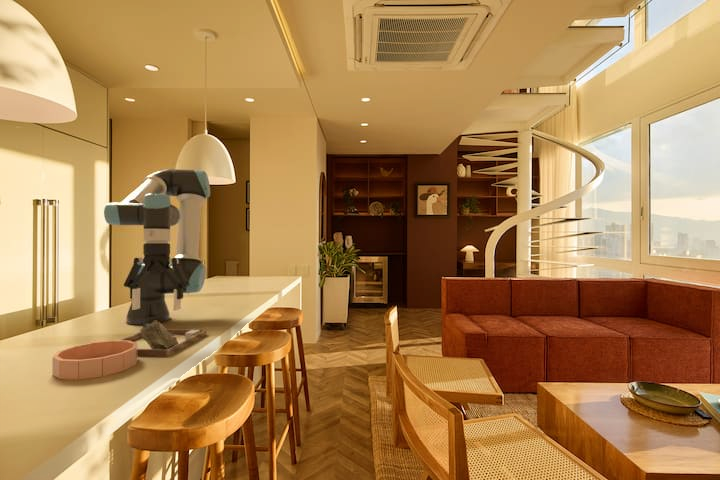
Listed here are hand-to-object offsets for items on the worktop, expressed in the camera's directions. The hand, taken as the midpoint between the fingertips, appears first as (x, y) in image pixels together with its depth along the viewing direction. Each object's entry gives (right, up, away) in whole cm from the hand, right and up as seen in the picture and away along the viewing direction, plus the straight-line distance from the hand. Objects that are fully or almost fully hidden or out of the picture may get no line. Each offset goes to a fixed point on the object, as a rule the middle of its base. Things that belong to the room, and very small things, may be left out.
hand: (156, 309), depth 118 cm
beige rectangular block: (+8, -11, +8) cm, 16 cm away
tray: (0, -11, 0) cm, 11 cm away
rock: (+2, -8, 0) cm, 8 cm away
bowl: (-5, -11, -20) cm, 24 cm away
